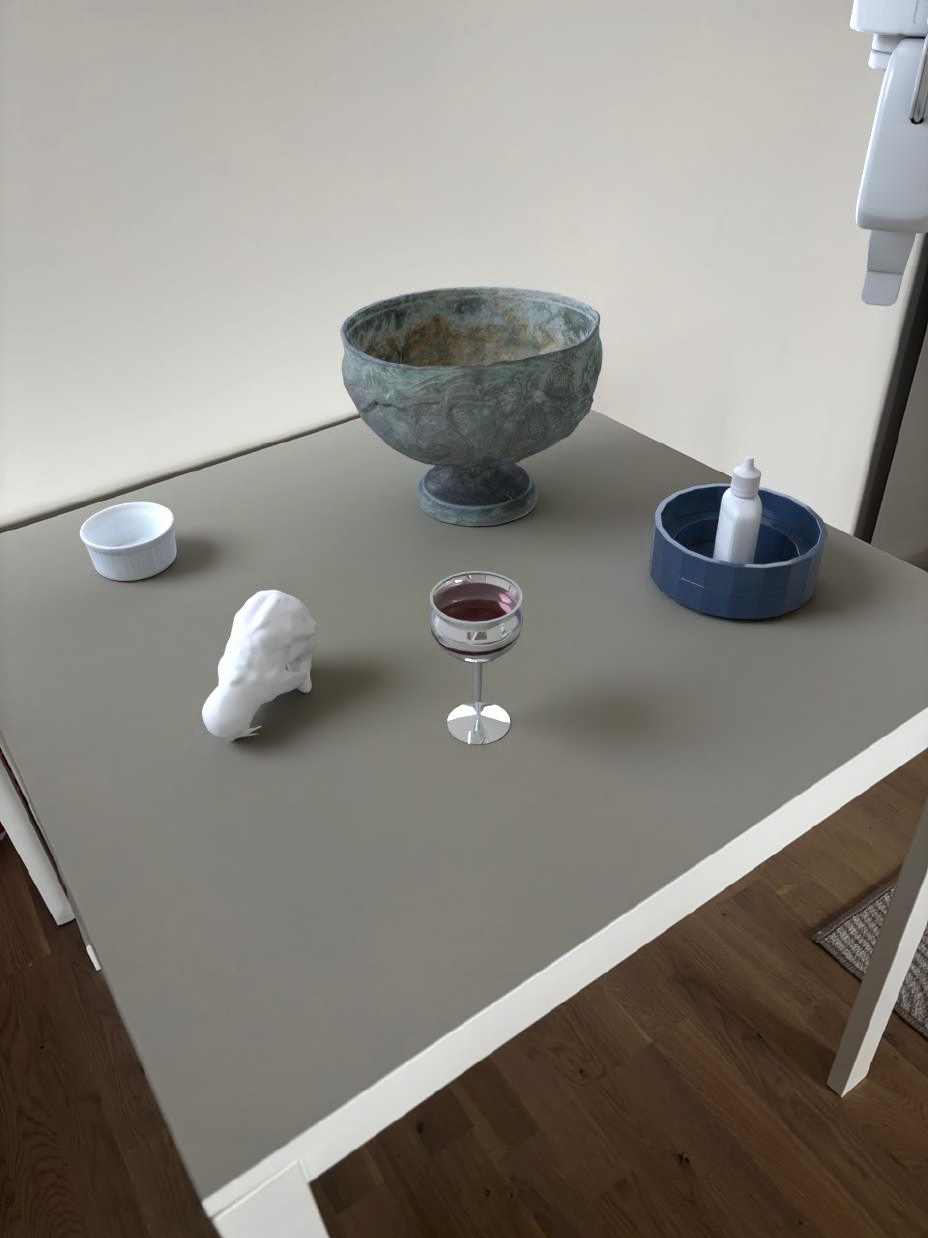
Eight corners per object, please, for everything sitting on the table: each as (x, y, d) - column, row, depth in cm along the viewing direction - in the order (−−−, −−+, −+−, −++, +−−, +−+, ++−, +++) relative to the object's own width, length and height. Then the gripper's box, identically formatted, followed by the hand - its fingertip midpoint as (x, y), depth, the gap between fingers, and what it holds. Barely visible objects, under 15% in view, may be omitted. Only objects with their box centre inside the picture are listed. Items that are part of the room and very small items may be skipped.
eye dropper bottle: (697, 580, 91) (713, 464, 84) (719, 552, 94) (736, 439, 87) (742, 593, 89) (763, 476, 82) (763, 565, 92) (784, 450, 85)
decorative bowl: (418, 584, 91) (413, 377, 80) (313, 481, 110) (296, 302, 99) (640, 519, 102) (662, 330, 91) (510, 436, 121) (516, 270, 110)
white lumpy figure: (317, 587, 76) (234, 690, 68) (333, 666, 82) (258, 769, 74) (248, 572, 78) (160, 669, 70) (269, 649, 84) (189, 748, 76)
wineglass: (538, 730, 75) (542, 603, 68) (465, 764, 72) (461, 635, 65) (490, 684, 80) (489, 560, 73) (419, 714, 77) (411, 589, 70)
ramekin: (187, 574, 95) (178, 536, 92) (92, 593, 92) (81, 554, 90) (176, 531, 101) (168, 494, 99) (88, 548, 99) (77, 511, 96)
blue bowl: (824, 553, 95) (836, 499, 92) (801, 640, 84) (814, 582, 80) (671, 524, 100) (677, 472, 97) (630, 602, 89) (635, 546, 86)
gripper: (1028, 4, 39) (937, 343, 47) (1019, -24, 54) (951, 236, 62) (861, 3, 41) (802, 328, 49) (898, -23, 56) (847, 228, 64)
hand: (885, 276), depth 55 cm, fingers open, 8 cm apart
